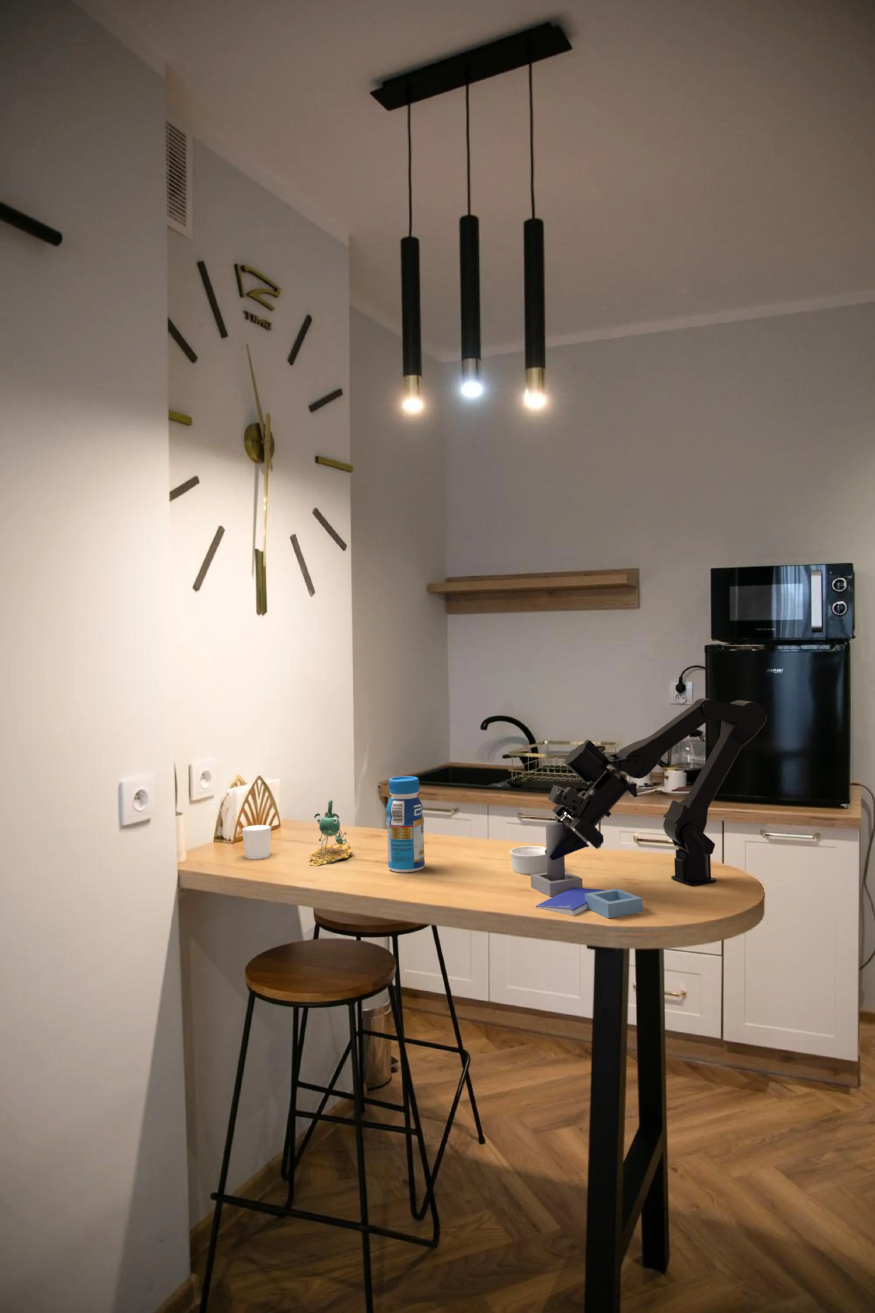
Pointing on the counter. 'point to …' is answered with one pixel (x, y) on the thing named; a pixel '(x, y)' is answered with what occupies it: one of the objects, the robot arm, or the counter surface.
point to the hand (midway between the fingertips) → (548, 856)
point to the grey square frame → (555, 883)
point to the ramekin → (529, 860)
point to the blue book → (568, 901)
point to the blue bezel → (614, 903)
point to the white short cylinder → (257, 841)
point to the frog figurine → (327, 828)
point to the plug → (552, 838)
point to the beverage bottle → (405, 825)
